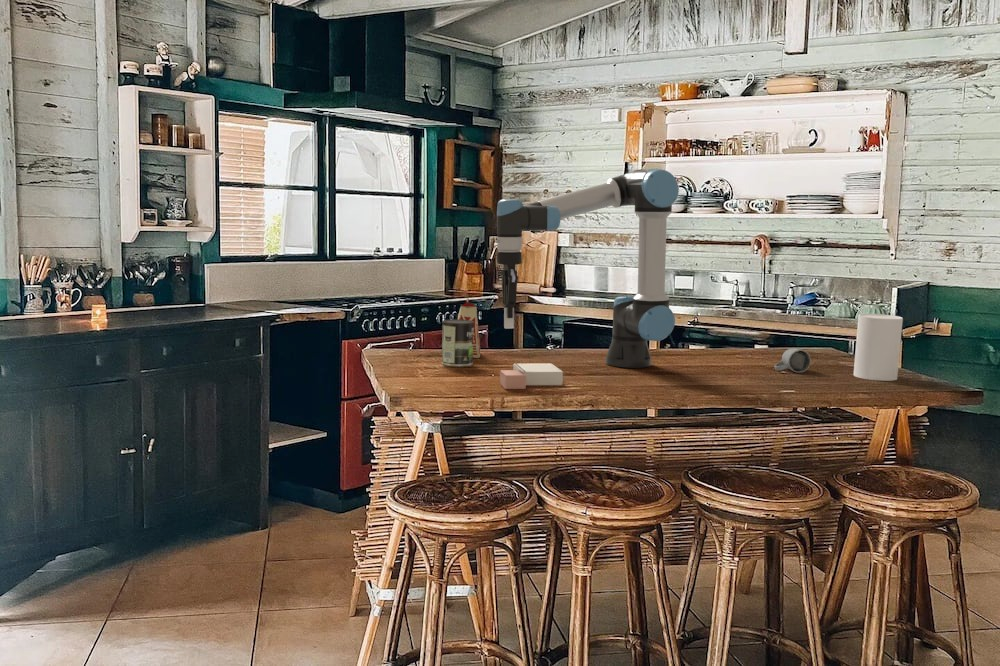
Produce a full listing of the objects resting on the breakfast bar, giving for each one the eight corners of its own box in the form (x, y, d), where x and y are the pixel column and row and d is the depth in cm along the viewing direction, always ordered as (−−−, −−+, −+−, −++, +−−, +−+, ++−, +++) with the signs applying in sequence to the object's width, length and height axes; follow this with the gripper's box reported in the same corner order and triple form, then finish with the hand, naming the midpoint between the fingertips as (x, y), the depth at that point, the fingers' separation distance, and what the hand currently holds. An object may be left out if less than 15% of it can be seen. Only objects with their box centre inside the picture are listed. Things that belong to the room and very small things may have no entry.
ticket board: (550, 376, 305) (551, 362, 305) (562, 385, 292) (562, 371, 291) (513, 376, 303) (513, 362, 302) (522, 385, 289) (523, 371, 289)
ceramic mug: (800, 368, 334) (801, 346, 333) (810, 372, 326) (811, 350, 325) (770, 368, 333) (771, 346, 332) (779, 373, 325) (781, 350, 324)
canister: (844, 373, 327) (849, 314, 324) (875, 372, 332) (880, 313, 329) (874, 381, 314) (880, 319, 312) (906, 379, 320) (912, 318, 317)
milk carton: (479, 357, 335) (481, 299, 332) (452, 356, 335) (454, 298, 332) (480, 353, 344) (482, 296, 341) (454, 352, 344) (455, 295, 341)
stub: (519, 383, 292) (520, 369, 291) (525, 388, 284) (526, 374, 283) (499, 383, 290) (500, 369, 290) (505, 389, 283) (505, 374, 282)
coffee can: (475, 362, 326) (477, 320, 324) (468, 367, 316) (469, 324, 314) (445, 360, 328) (446, 318, 326) (437, 365, 318) (438, 322, 316)
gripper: (492, 249, 302) (492, 325, 306) (501, 252, 290) (501, 331, 293) (516, 249, 304) (516, 324, 307) (526, 252, 291) (525, 331, 295)
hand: (508, 328), depth 300 cm, fingers closed
